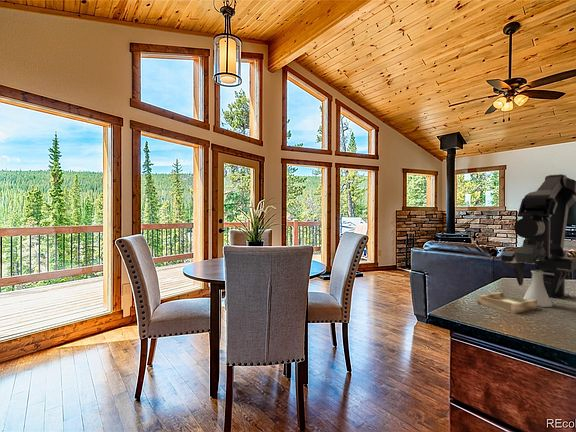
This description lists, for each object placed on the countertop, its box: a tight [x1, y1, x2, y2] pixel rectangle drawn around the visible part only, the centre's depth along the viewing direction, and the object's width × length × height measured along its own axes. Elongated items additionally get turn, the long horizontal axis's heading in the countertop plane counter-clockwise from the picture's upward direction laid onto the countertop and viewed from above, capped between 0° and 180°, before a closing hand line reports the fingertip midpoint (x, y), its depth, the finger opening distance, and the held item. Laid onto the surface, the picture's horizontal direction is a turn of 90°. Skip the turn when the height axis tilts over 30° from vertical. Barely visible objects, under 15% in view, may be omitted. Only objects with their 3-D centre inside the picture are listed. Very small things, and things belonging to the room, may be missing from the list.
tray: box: [477, 291, 538, 314], centre depth 98 cm, size 11×10×2 cm
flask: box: [522, 269, 553, 308], centre depth 99 cm, size 7×7×10 cm
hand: (537, 288), depth 100 cm, fingers open, 9 cm apart
